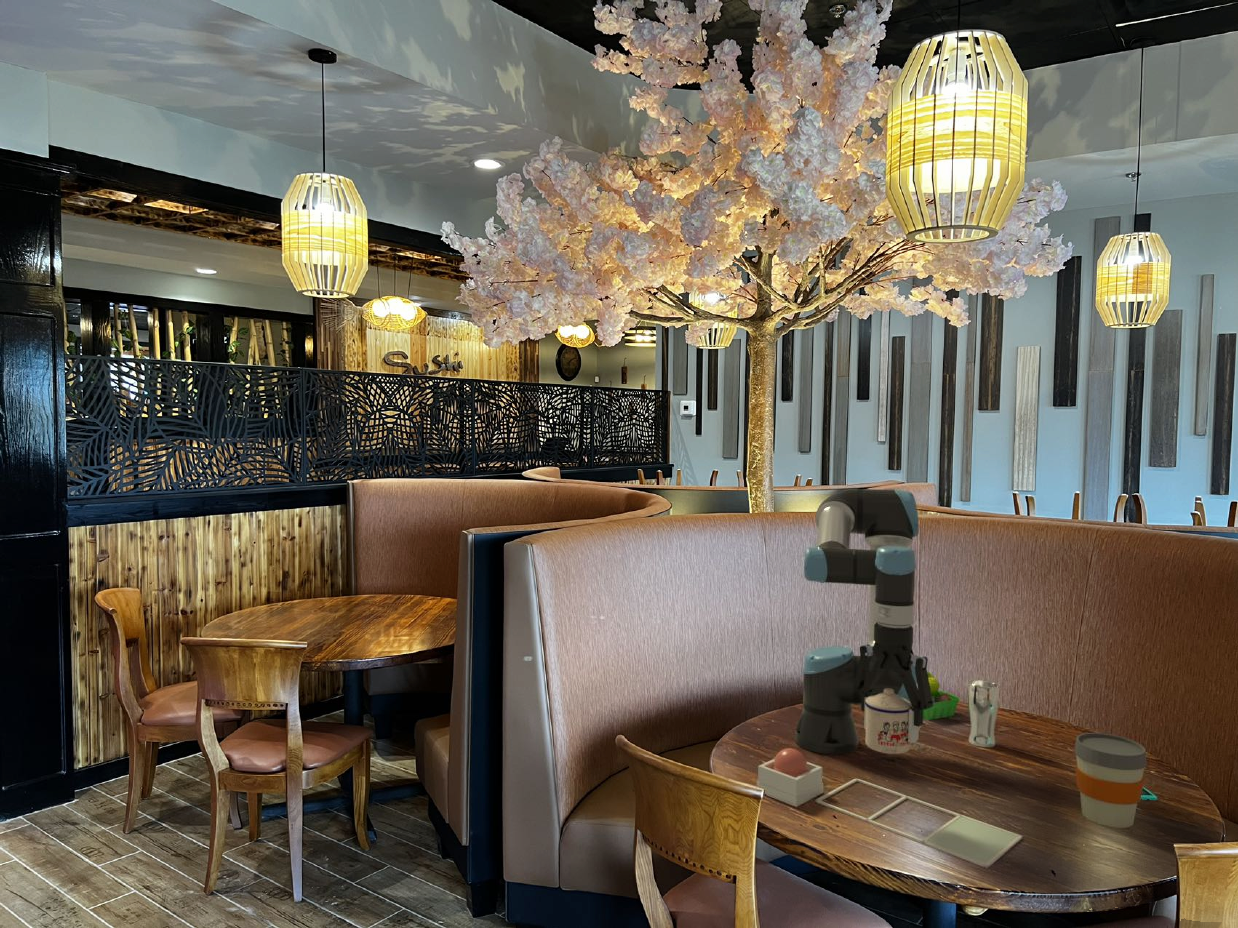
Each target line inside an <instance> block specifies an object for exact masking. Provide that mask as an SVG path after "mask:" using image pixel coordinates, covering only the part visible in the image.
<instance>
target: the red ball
mask: <svg viewBox="0 0 1238 928" xmlns="http://www.w3.org/2000/svg"><path fill="white" fill-rule="evenodd" d="M773 759H774V770H776V771H779V772H781V773H784V774H787V775H789V776H792V777H795V778H796V777H798V776H800V775H802V774H804V773H806V772H807V762H808V761H807V759H806V758H805V756H804V754H803V753H801V752H800V751H799V750H797V749H795V748H791V747H788V748H783V749H781V750H780V751H778V753H776V756H775V757H774V758H773Z"/></svg>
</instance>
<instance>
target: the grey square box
mask: <svg viewBox="0 0 1238 928" xmlns="http://www.w3.org/2000/svg"><path fill="white" fill-rule="evenodd" d="M774 759H775V758H772V759H771V760H769V761H766V762H763V763H762V764H760V765H758V767H757V768H758V769H757V770H758V771H757V781H756V788H757V787H759V788H763V789H764V790H765V794H766V796H767V797H770V798H773V799H775V800H778V801H779V802H782V803H785V804H788V805H789V806H792V807H795V808H798V806H801V805H803V804H805V803H807V802H808V801H810V800H812V799H815V798H816V797H817V796H820V795H821V794H823V793H824V782H823V766H820V765H817V764H814V763H811V762H808V761H806V762H807V772H806V773H804V774H802V775H800V776H798V777H796V778H795V777H792V776H789V775H787V774H784V773H781V772H779V771H776V770H774ZM765 794H764V795H765Z"/></svg>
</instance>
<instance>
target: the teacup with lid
mask: <svg viewBox="0 0 1238 928" xmlns="http://www.w3.org/2000/svg"><path fill="white" fill-rule="evenodd" d="M865 705H866V729H865V745H866V746H867V747H868V748H869V749H871V750H873V751H877V752H879V753H883V754H884V753H885V754H890V755H891V754H892V755H893V754H897V755H898V754H899V755H900V754H904V753H907V752H908V751H910V750H911V743H910V742H908V725H909V709H911V708H913V707H912V705H911V703H910V702H909V701H908V700H906V699H904V698H901V697H900V696H898V695H897V694H894V690H893V689H891V688H885V689H884V692H883V693H879V694H877V695H873V696H870V697H868V698H867V699H866V701H865ZM922 726H923V724H922V725H921V726H919V730H920V729H921V728H922Z"/></svg>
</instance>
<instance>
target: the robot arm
mask: <svg viewBox="0 0 1238 928" xmlns="http://www.w3.org/2000/svg"><path fill="white" fill-rule="evenodd" d="M917 508H918V507H917V501H916V499H915V496H914V494H913V493H912V492H911V491H909V490H900V489H895V488H893V489H873V488H872V489H871V488H863V489H862V488H861V489H860V488H847V489H843V490H840V491H838V492H835V493H833V494H831V495H830V496H828V497H827V498H826V499H824V500H823V501H822V502H821V503H820V504H819V506H818V508H817V509H816V513H815V524H816V527H817V535H816V544H815V546H810V547H807V548H806V549H805V551H804V562H803V563H804V564H803V568H804V571H803V573H804V578H805V579H806V580H807V581H808V582H817V583H820V584H824V583H826V584H827V583H828V584H845V585H861V586H862V585H863V586H869V619H868V620H869V623H868V643H867V644H864V645H861V646H860V647H859V655H855V653H854V652H853V651H854V650H852V649H851V648H850V647H843V646H837V645H836V646H835V645H834V646H823V647H817V648H814V649H812V650H810V651H808V652H807V653H806V654H805V656H804V663H803V664H804V665H803V666H804V667H803V670H802V673H803V697H802V699H803V700H802V703H803V704H802V706H803V707H802V712H801V715H800V718H799V721H798V723H797V725H796V728H795V734H794V741H795V743H796V744H797V745H798V746H799V747H801V748H803V749H805V750H808V751H811V752H813V753H818V754H825V755H845V754H850V753H853V752H854V751H856V750H857V749H858V748H859V734H858V732H857V728H856V725H855V722H854V718H853V714H852V711H853V707H852V705H857V706H860V709H861V711H862V712H864V713H863V714H864V716H863V717H864V718H863V719H864V720H863V721H864V722H863V729H864V730H866V705H865V701H866V699H867V698H868V697H870V696H873V695H877V694H879V693H883V692H884V689H885V688H891V689H893V690H894V694H897V695H898V696H900V697H901V698H904V699H906V700H908V701H909V702H910V703H911V705H912V708H911V709H909V725H908V742H910V744H913V743H915V742H917V741H919V734H920V733H919V732H920V731H919V730H920V729H919V726H921V725H922V726H923V724H924V718H923V710H926V709H928V708H931V707H932V706H933V700H932V695H931V690H930V684H929V679H928V674H927V671H928V662H929V660H928V657H927V656H920V655H919V656H918V655H916V654H915V653H914V651H913V643H914V627H913V626H912V624H914V620H915V619H914V618H915V617H914V616H915V615H914V611H915V610H914V609H915V608H914V605H915V600H914V599H915V597H914V596H915V576H916V575H915V574H916V573H915V571H916V567H917V564H916V555H915V554H916V553H915V550H913V549H912V548H910V546H911V545H912V544H913V543H914V542H913V538H915V537H918V535H919V533H920V529H919V528H920V527H919V525H920V524H919V514H918V509H917ZM851 534H857V535H864V542H865V543H866V544H867V545H868V546H869V548H870V549H858V548H857V549H855V548H851ZM922 726H921V727H922Z"/></svg>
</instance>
